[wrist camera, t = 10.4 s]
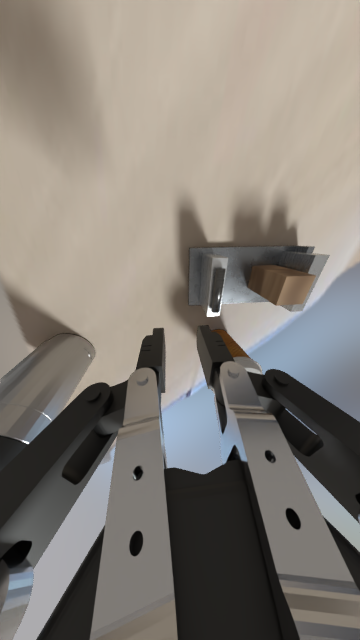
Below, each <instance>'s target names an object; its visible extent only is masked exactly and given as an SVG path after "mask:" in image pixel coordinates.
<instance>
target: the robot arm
mask: <svg viewBox="0 0 360 640" xmlns="http://www.w3.org/2000/svg"><path fill="white" fill-rule="evenodd" d="M197 350H198V354H199V357H200V361H201V364H202V368H203V372H204V375H205V379H206V382H207V386H208V389H212V388H213V389H214V392H215V397H214V401H215V407H216V413H217V420H218V426H219V432H220V453H221V460H222V465H221V466H220V467H218V468H216V469H214V470H212V471H211V472H209V473H207V474H198V473H194V472H190V471H186V470H182V469H179V468H167V461H166V452H165V443H164V434H163V425H162V414H161V405H160V404H161V393H165V337H164V328H154V329H153V335H149V336H146V337H145V338H144V339H143V341H142V345H141V349H140V354H139V358H138V362H137V367H136V370H135V371H134V372H133V373H132V374H131V375H130V377H129V379H128V380H127V381H125V382H123V383H120V384H117V385H115V386H112V387H109V385H108V384H106V383H102V382H101V383H96V384H93V385H91V386H89V387H87V388H86V389H85V390H84V391H83V392H81V393H80V394H79V395H78V396H77V397H76V398H75V399H74V400H73V401H72V402H71V403H70V404H69V405H68V406H67V407H66V408H65V409H64V410H63V408H64V407H65V405H66V403H67V402H68V400H69V399H70V397H71V395H72V394H73V392H74V390H75V389H76V387H77V385H78V384H79V382H80V380H81V379H82V377H83V375H84V374H85V372H86V370H87V369H88V367H89V365H90V364H91V362H92V360H93V359H94V357H95V350H94V348H93V346H92V345H91V344H90V343H89V342H88V341H87V340H85V339H84V338H82V337H79V336H77V335H73V334H60V335H56V336H54V337H53V338H52V339H51V340H49V341H44V342H43V343H42V344H41V345H40V346H39V347H37V348H36V349H35V350H34V351H33V352H32V353H30V354H29V355H28V356H27V357H26V358H24V359H23V360H22V361H21V362H20V363H19V364H18V365H16V366H15V367H14V368H13V369H12V370H11V371H9V372H8V373H7V374H6V375H4V376H3V377H2V378H1V381H0V382H1V383H0V640H12V639H13V637H14V635H15V633H16V631H17V629H18V627H19V625H20V623H21V621H22V618H23V616H24V614H25V611H26V609H27V606H28V603H29V600H30V596H31V592H32V587H33V579H34V578H33V577H34V574H33V569H34V567H35V566H36V564H37V563H38V561H39V559H40V558H41V556H42V555H43V553H44V551H45V550H46V548H47V547H48V545H49V543H50V542H51V540H52V539H53V537H54V535H55V534H56V532H57V531H58V529H59V528H60V526H61V524H62V523H63V521H64V520H65V518H66V516H67V515H68V513H69V512H70V510H71V508H72V506H73V505H74V504H75V502H76V500H77V499H78V497H79V496H80V494H81V492H82V491H83V489H84V488H85V486H86V484H87V483H88V481H89V480H90V478H91V476H92V475H93V473H94V471H95V470H96V469H97V467H98V465H99V464H100V462H101V461H102V459H103V457H104V456H105V454H106V453H107V451H108V449H109V448H110V446H111V445H112V443H113V441H114V440H115V438H116V437H117V441H116V448H115V456H114V463H113V471H112V479H111V486H110V494H109V501H108V509H107V516H106V523H105V526H104V527H103V529H102V531H101V532H100V534H99V536H98V537H97V539H96V541H95V543H94V544H93V546H92V547H91V549H90V551H89V552H88V554H87V556H86V557H85V559H84V561H83V563H82V564H81V566H80V568H79V569H78V571H77V573H76V574H75V576H74V577H73V579H72V581H71V583H70V584H69V586H68V588H67V589H66V591H65V593H64V594H63V596H62V598H61V599H60V601H59V603H58V604H57V606H56V608H55V609H54V611H53V613H52V614H51V616H50V618H49V620H48V621H47V623H46V624H45V626H44V628H43V630H42V631H41V633H40V634H39V636H38V638H37V639H36V640H360V552H359V551H358V550H357V549H356V548H355V547H354V546H353V545H352V544H351V543H350V542H349V541H348V540H347V539H346V538H345V537H344V536H343V535H342V534H341V533H340V532H339V531H338V530H336V528H334V527H333V526H332V525H331V524H330V523H329V522H328V521H327V520H326V519H325V518H324V517H323V516H322V514H321V512H320V509H319V507H318V505H317V503H316V501H315V499H314V497H313V495H312V493H311V491H310V489H309V487H308V484H307V483H306V480H305V478H304V476H303V474H302V472H301V470H300V468H299V466H298V464H297V462H296V459H295V457H296V458H297V459H298V460H299V461H300V462H301V463H302V464H303V465H304V466H305V467H306V469H307V470H308V471H309V472H310V473H311V474H312V475H313V476H314V477H315V478H316V479H317V480H318V481H319V482H320V483H321V484H322V485H323V486H324V487H325V488H326V489H327V490H328V491H329V492H330V493H331V494H332V496H334V498H335V499H336V500H337V501H338V502H339V503H340V504H341V505H342V506H343V507H344V508H345V509H346V510H347V511H348V512H349V513H350V514H351V515H352V516H353V517H354V518H355V519H356V520H357V521H358V522H359V524H360V422H359V421H357V420H356V419H354V418H353V417H351V416H350V415H348V414H347V413H345V412H344V411H342V410H341V409H339V408H338V407H336V406H335V405H333V404H332V403H330V402H329V401H327V400H326V399H324V398H323V397H321V396H320V395H318V394H317V393H315V392H314V391H312V390H311V389H309V388H308V387H306V386H305V385H303V384H302V383H300V382H299V381H297V380H296V379H294V378H293V377H291V376H290V375H288V374H287V373H285V372H283V371H280V370H276V369H270V370H268V371H266V373H265V375H262V374H257V373H252V372H248V371H246V369H245V368H244V367H243V366H242V365H240V364H239V363H236V362H235V360H234V359H233V357H232V355H231V353H230V351H229V350H228V348H227V346H226V344H225V342H224V341H223V339H222V337H221V335H219V334H218V333H217V332H211V330H210V328H209V326H208V325H205V326H198V330H197ZM285 408H287V409H288V410H289V411H290V412H292V414H294V415H295V416H296V417H297V418H298V419H300V420H301V421H302V422H303V423H304V424H306V425H307V426H308V427H309V428H310V429H311V430H313V431H314V432H315V433H316V434H317V435H316V434H314V433H313V432H311V431H310V430H309V429H308V428H307V427H305V426H304V425H303V424H302V423H301V422H300V421H298V420H297V419H296V418H295V417H294V416H292V415H291V414H290V413H289V412H288V411H287V410H286V409H285ZM62 410H63V411H62ZM294 456H295V457H294Z"/></svg>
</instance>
